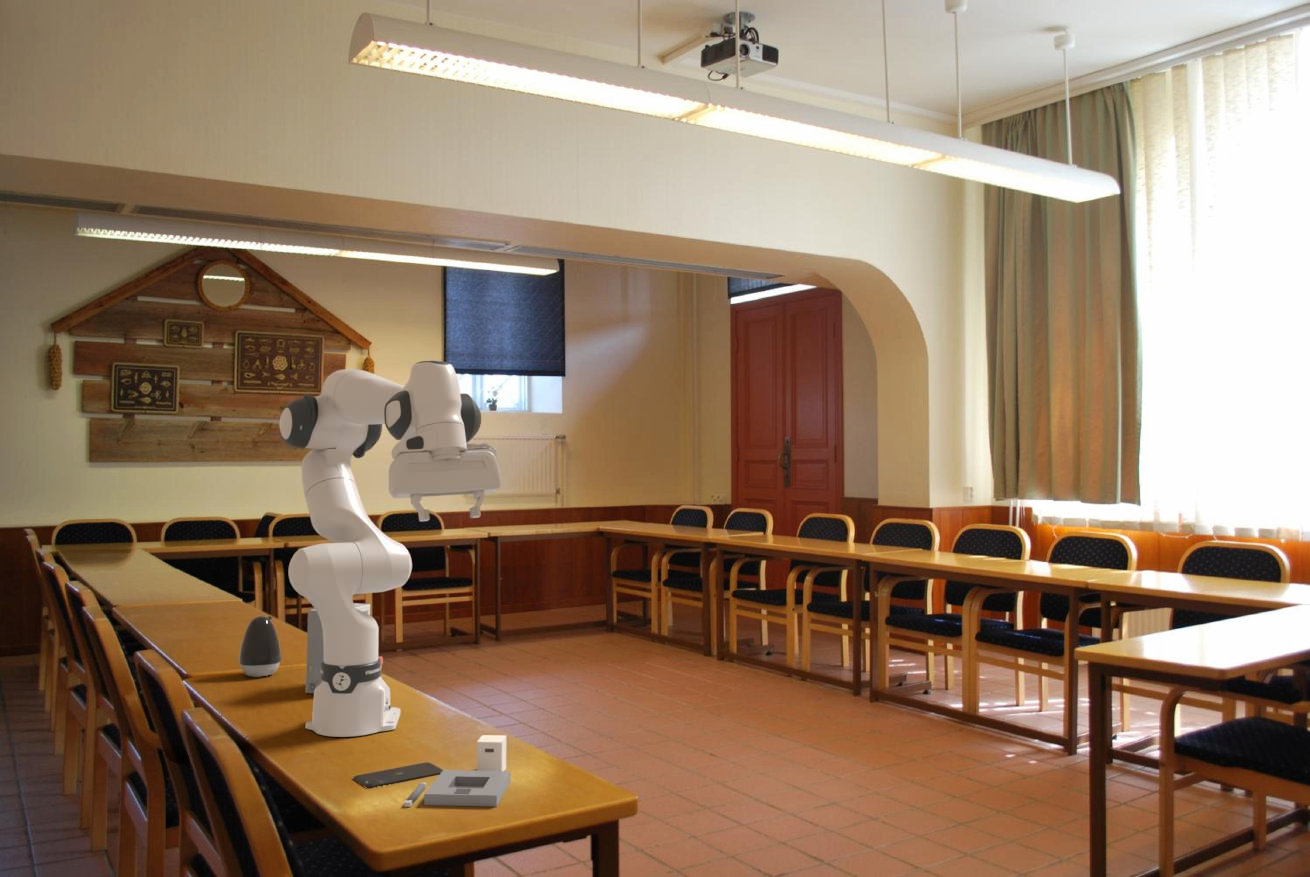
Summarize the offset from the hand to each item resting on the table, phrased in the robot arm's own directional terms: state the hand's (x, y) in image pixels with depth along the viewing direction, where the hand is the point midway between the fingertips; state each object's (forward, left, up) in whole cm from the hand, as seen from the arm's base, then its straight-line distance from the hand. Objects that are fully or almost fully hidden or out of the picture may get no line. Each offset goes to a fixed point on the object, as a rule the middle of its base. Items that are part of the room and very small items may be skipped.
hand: (450, 518), depth 187 cm
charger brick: (-4, +7, -46) cm, 47 cm away
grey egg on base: (-79, -68, -46) cm, 114 cm away
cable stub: (+11, -3, -46) cm, 48 cm away
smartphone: (0, -9, -47) cm, 48 cm away
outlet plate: (+8, +6, -46) cm, 47 cm away
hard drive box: (-66, -43, -46) cm, 92 cm away
